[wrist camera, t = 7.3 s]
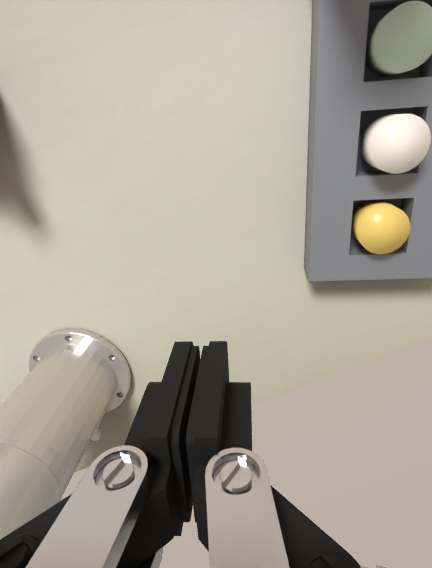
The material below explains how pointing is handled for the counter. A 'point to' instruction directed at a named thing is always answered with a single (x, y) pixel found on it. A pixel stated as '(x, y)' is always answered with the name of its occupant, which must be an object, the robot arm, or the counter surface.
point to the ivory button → (395, 142)
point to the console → (346, 148)
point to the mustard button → (380, 226)
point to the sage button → (400, 39)
